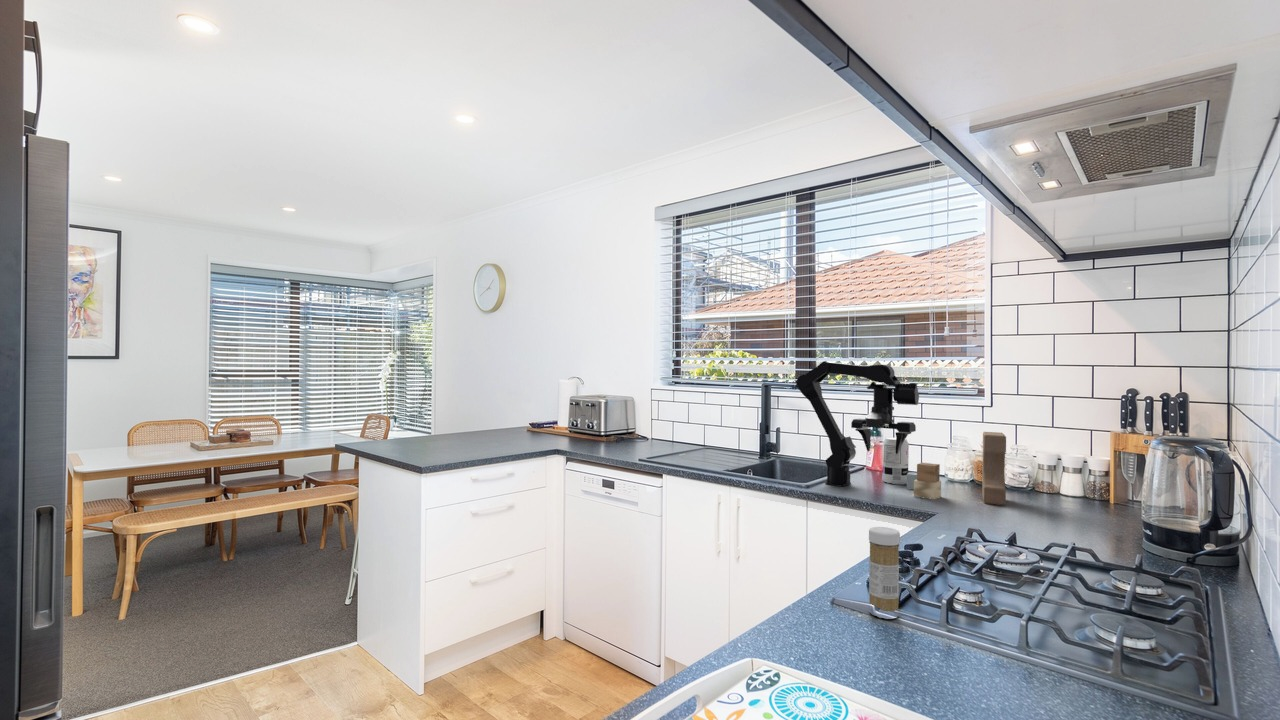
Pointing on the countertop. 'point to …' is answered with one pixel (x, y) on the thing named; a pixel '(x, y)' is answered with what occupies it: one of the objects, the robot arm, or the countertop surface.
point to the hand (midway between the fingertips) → (882, 452)
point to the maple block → (927, 489)
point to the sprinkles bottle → (884, 568)
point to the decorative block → (994, 468)
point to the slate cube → (911, 479)
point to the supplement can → (895, 462)
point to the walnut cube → (928, 472)
